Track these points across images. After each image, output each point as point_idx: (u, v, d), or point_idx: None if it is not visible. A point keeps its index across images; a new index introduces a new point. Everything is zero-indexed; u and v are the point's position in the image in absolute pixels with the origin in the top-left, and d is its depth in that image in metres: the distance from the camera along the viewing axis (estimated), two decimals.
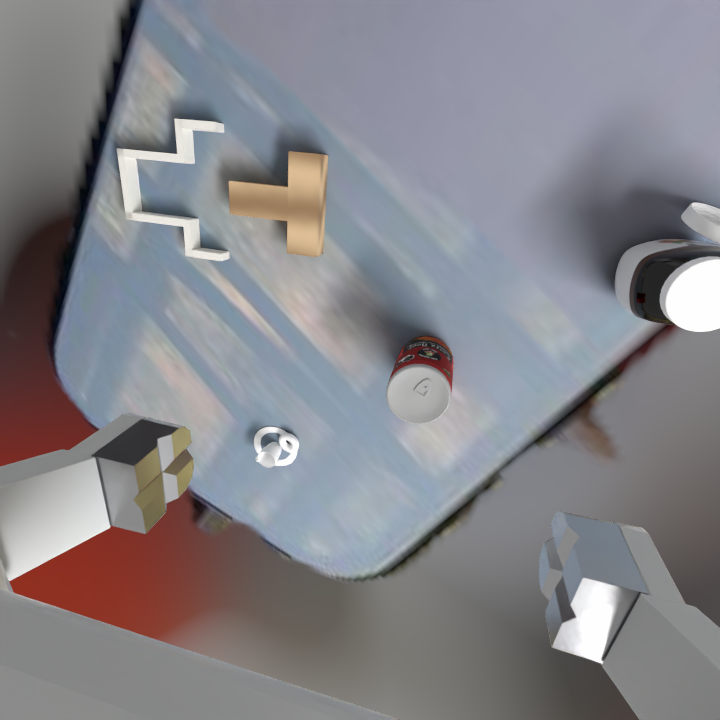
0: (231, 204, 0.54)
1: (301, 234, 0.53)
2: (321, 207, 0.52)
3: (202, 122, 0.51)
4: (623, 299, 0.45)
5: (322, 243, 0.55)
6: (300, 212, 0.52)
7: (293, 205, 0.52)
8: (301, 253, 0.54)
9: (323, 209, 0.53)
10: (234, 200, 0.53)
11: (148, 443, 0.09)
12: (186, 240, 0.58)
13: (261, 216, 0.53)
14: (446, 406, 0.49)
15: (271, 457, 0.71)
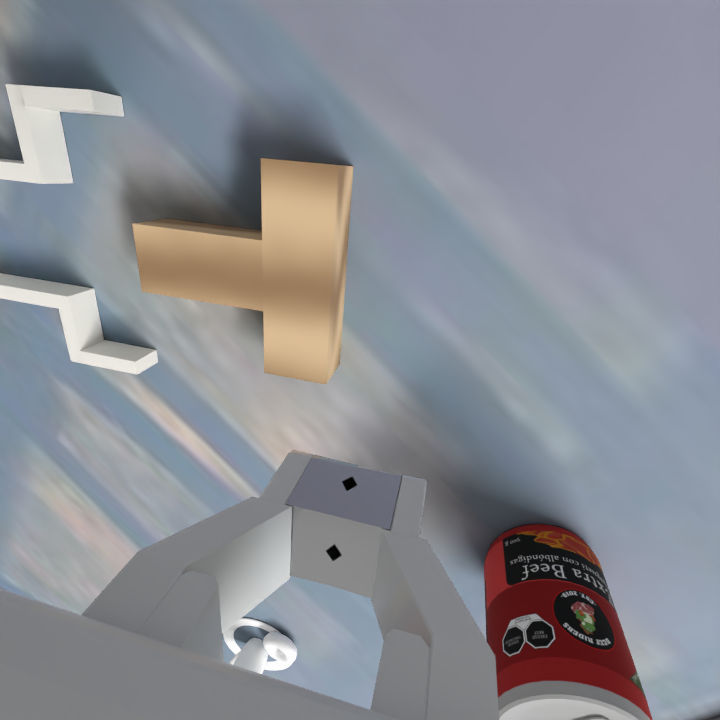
0: (143, 271, 0.25)
1: (293, 338, 0.24)
2: (337, 282, 0.24)
3: (65, 92, 0.22)
4: None
5: (338, 347, 0.27)
6: (291, 295, 0.23)
7: (275, 279, 0.23)
8: (294, 375, 0.25)
9: (341, 283, 0.25)
10: (148, 264, 0.25)
11: (335, 487, 0.08)
12: (68, 333, 0.29)
13: (207, 299, 0.25)
14: None
15: None
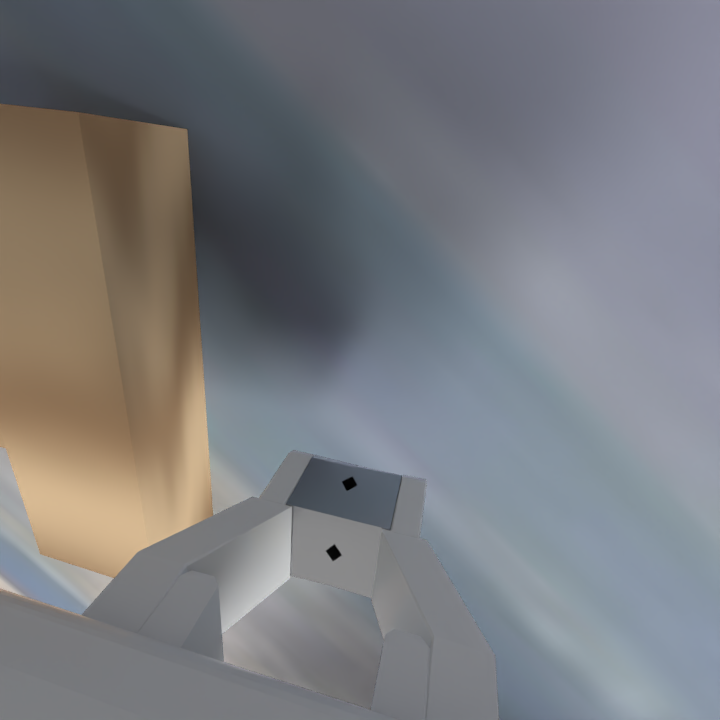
0: None
1: (76, 506, 0.11)
2: (161, 394, 0.10)
3: None
4: None
5: (202, 495, 0.14)
6: (50, 425, 0.10)
7: (10, 389, 0.10)
8: (95, 567, 0.12)
9: (187, 385, 0.12)
10: None
11: (335, 487, 0.08)
12: None
13: None
14: None
15: None
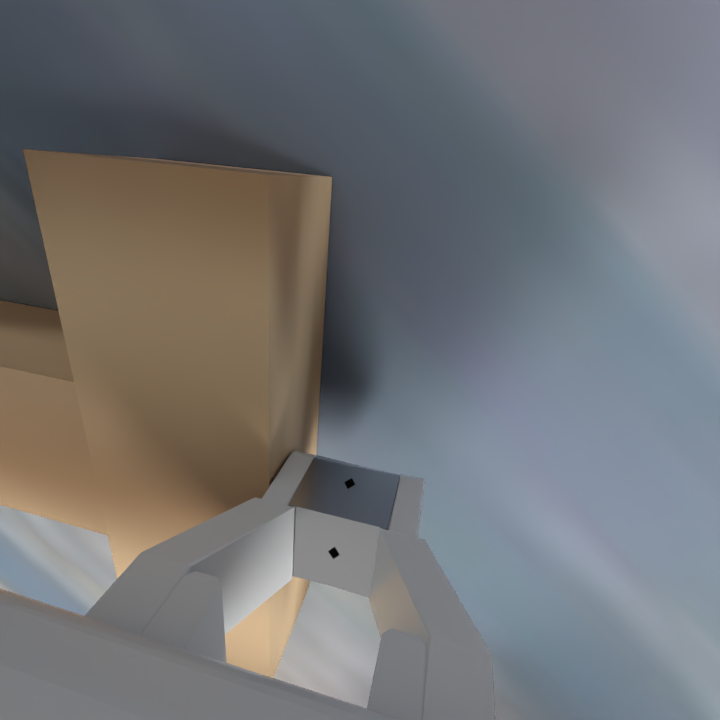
0: None
1: None
2: None
3: None
4: None
5: None
6: (168, 513, 0.09)
7: (124, 475, 0.09)
8: None
9: None
10: None
11: (337, 488, 0.08)
12: None
13: None
14: None
15: None
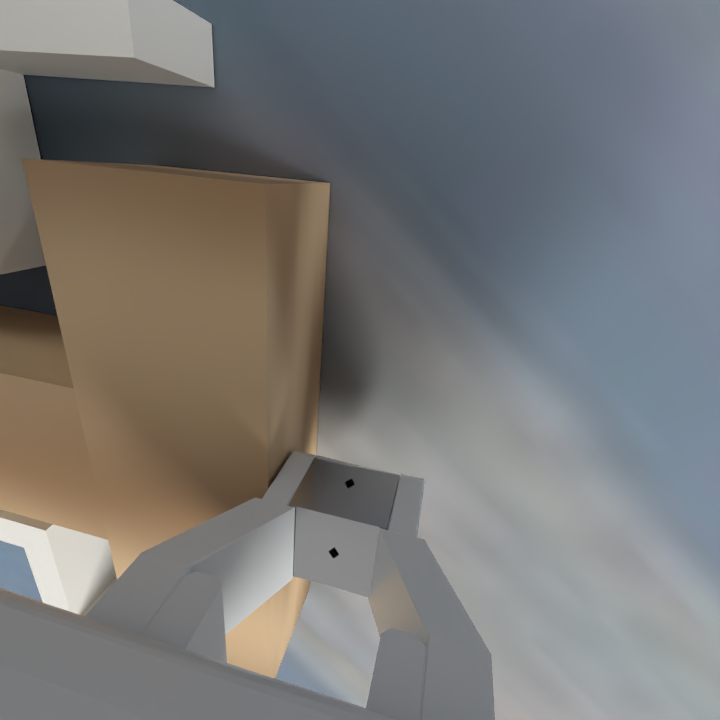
0: None
1: None
2: None
3: None
4: None
5: None
6: (167, 519, 0.09)
7: (124, 480, 0.09)
8: None
9: None
10: None
11: (338, 488, 0.08)
12: (46, 592, 0.13)
13: None
14: None
15: None
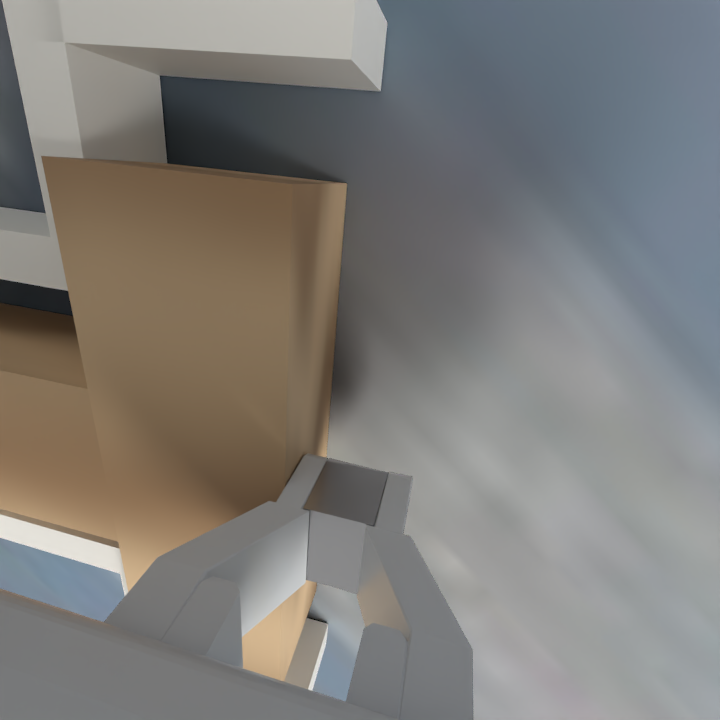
0: None
1: None
2: None
3: None
4: None
5: None
6: (180, 520, 0.09)
7: (137, 482, 0.09)
8: None
9: None
10: None
11: (351, 491, 0.08)
12: None
13: None
14: None
15: None
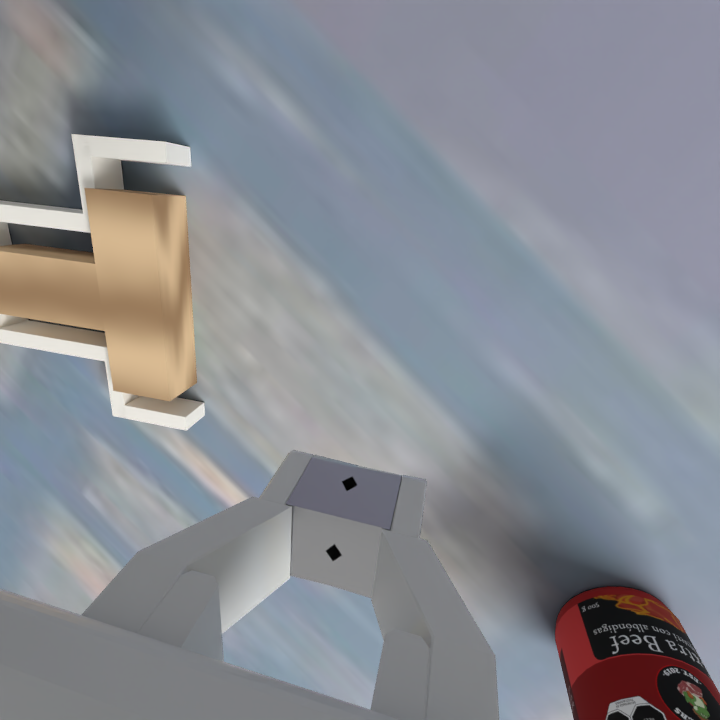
0: None
1: (135, 357, 0.25)
2: (174, 303, 0.25)
3: (137, 143, 0.21)
4: None
5: (191, 366, 0.28)
6: (127, 315, 0.24)
7: (111, 300, 0.24)
8: (141, 393, 0.26)
9: (184, 304, 0.26)
10: None
11: (335, 487, 0.08)
12: (112, 387, 0.27)
13: (53, 319, 0.26)
14: None
15: None
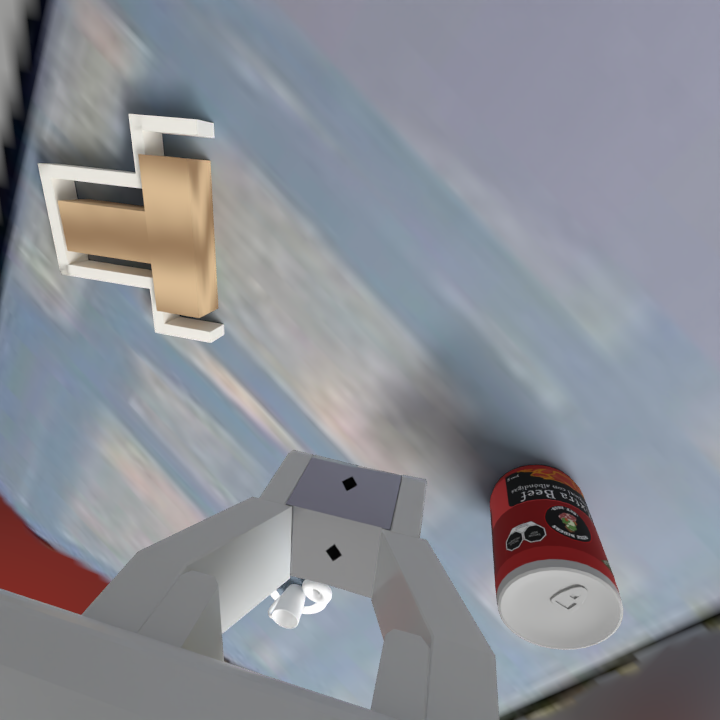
0: (67, 236, 0.35)
1: (173, 283, 0.34)
2: (202, 242, 0.33)
3: (176, 120, 0.30)
4: None
5: (214, 294, 0.36)
6: (168, 251, 0.33)
7: (156, 240, 0.33)
8: (177, 312, 0.35)
9: (209, 244, 0.34)
10: (70, 230, 0.34)
11: (335, 487, 0.08)
12: (155, 309, 0.36)
13: (112, 255, 0.34)
14: (611, 632, 0.27)
15: None
